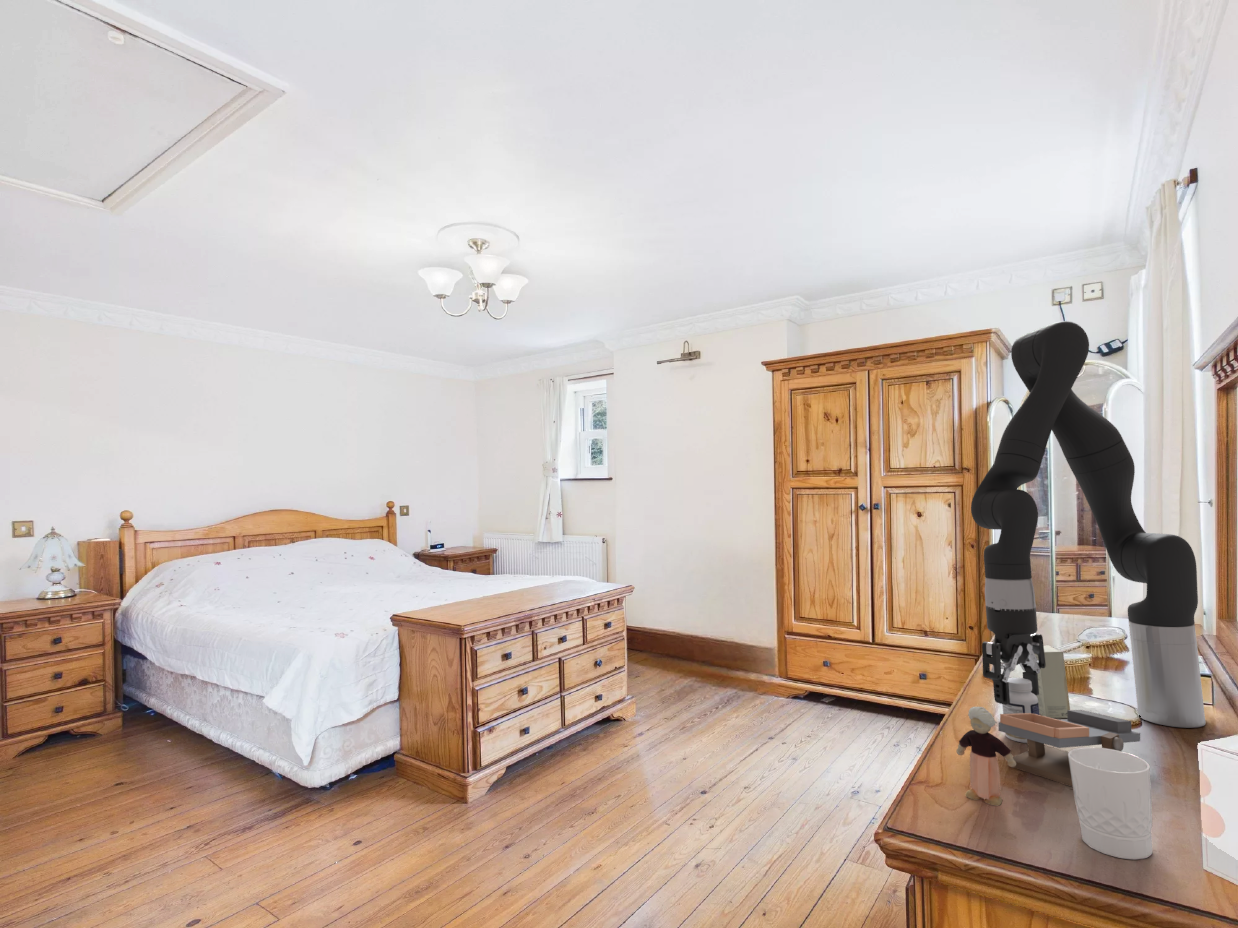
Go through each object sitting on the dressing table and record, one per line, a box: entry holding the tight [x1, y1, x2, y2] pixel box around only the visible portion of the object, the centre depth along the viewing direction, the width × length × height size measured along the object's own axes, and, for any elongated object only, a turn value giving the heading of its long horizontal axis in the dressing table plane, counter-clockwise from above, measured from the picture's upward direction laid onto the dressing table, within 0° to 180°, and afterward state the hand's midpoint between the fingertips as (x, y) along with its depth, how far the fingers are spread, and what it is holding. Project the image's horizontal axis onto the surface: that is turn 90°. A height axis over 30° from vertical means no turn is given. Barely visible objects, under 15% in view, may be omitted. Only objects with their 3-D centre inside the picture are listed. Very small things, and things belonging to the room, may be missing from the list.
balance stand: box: [1007, 714, 1125, 788], centre depth 97 cm, size 10×14×7 cm
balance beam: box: [997, 709, 1141, 749], centre depth 97 cm, size 22×8×3 cm, turn 118°
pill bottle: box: [1001, 677, 1041, 744], centre depth 111 cm, size 5×5×10 cm
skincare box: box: [1035, 644, 1071, 719], centre depth 123 cm, size 6×4×12 cm
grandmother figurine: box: [956, 706, 1016, 807], centre depth 90 cm, size 8×4×13 cm, turn 50°
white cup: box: [1068, 746, 1153, 860], centre depth 78 cm, size 8×8×10 cm
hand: (1017, 698), depth 112 cm, fingers open, 8 cm apart
